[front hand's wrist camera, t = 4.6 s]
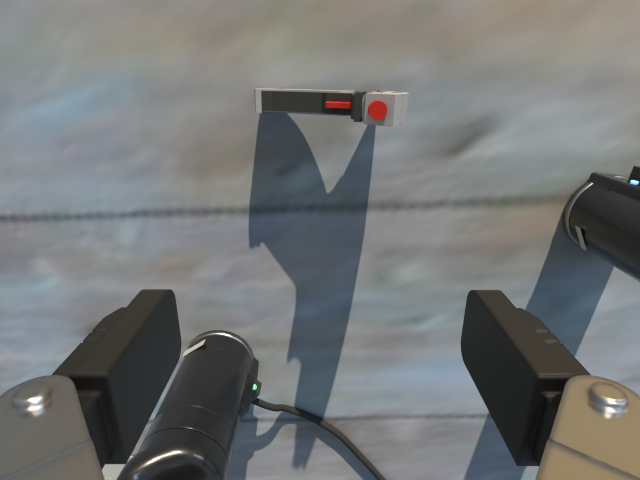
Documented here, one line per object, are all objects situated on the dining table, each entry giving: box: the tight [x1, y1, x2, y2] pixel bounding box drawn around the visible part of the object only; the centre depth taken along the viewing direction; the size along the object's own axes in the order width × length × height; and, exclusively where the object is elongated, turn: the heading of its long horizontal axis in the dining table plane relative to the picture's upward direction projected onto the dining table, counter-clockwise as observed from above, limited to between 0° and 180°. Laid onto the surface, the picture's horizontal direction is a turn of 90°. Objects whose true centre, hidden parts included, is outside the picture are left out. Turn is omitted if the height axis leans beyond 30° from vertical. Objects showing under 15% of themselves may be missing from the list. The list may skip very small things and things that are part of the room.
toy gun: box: [255, 88, 409, 126], centre depth 39 cm, size 2×16×15 cm
